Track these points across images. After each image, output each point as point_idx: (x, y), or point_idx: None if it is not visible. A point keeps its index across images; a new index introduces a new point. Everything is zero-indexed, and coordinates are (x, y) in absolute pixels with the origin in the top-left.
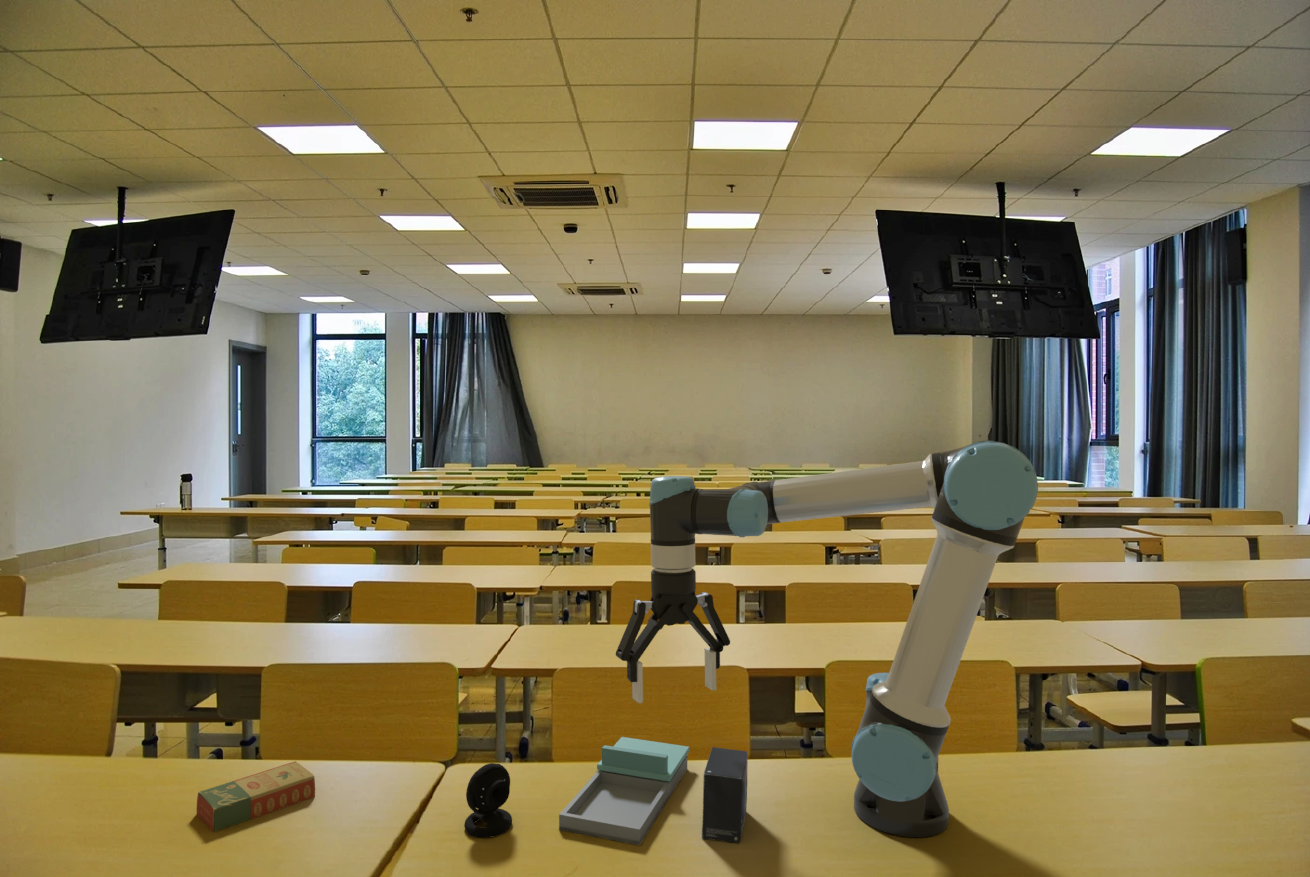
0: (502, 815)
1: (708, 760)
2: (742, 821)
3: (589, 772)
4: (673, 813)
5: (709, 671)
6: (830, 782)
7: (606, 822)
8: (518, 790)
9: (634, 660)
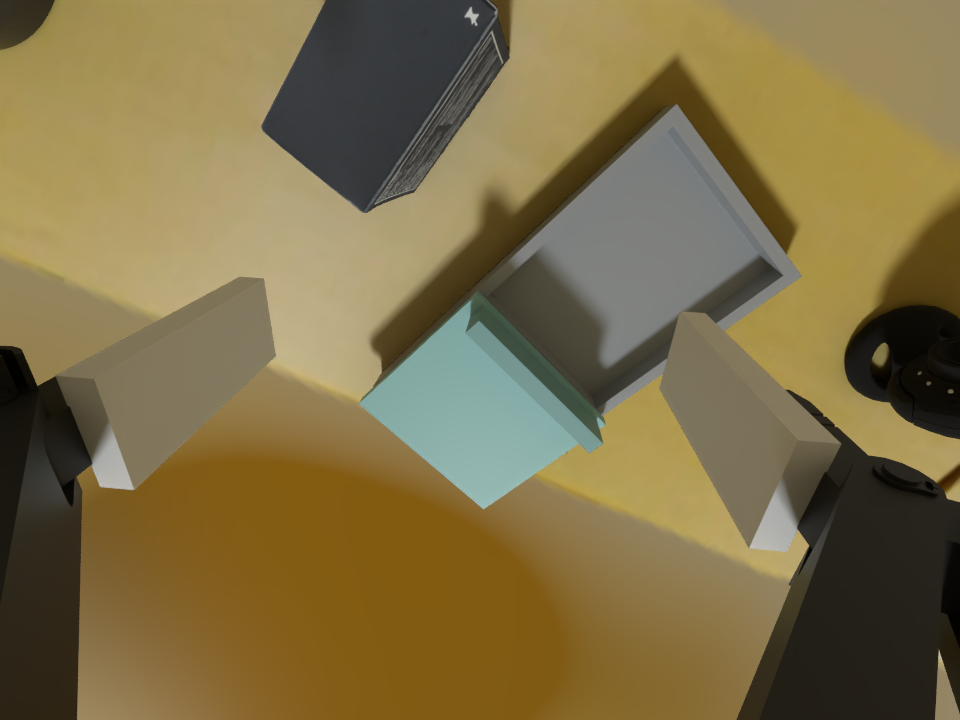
0: (870, 361)
1: (427, 115)
2: None
3: (582, 451)
4: (509, 209)
5: (214, 348)
6: (74, 158)
7: (728, 182)
8: None
9: (906, 469)
